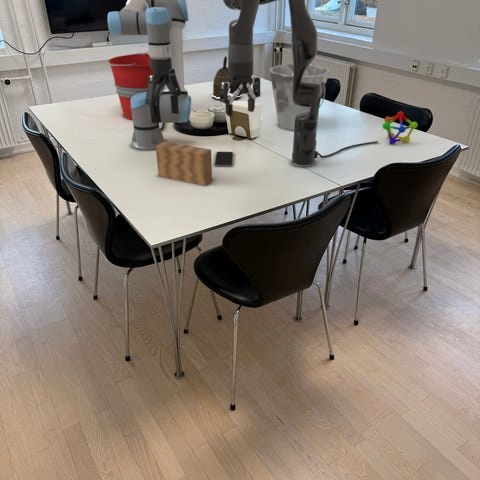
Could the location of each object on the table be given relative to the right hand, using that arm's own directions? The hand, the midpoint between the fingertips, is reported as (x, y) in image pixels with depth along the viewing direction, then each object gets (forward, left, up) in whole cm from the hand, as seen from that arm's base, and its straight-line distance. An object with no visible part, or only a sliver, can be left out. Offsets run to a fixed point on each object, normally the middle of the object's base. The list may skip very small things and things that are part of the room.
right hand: (240, 113), depth 140 cm
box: (-1, -31, -32) cm, 44 cm away
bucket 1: (-44, -113, -32) cm, 126 cm away
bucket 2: (-86, -40, -32) cm, 100 cm away
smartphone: (-26, -33, -32) cm, 53 cm away
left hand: (+1, -37, -9) cm, 38 cm away
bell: (-102, -106, -32) cm, 151 cm away
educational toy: (-97, +11, -32) cm, 103 cm away
